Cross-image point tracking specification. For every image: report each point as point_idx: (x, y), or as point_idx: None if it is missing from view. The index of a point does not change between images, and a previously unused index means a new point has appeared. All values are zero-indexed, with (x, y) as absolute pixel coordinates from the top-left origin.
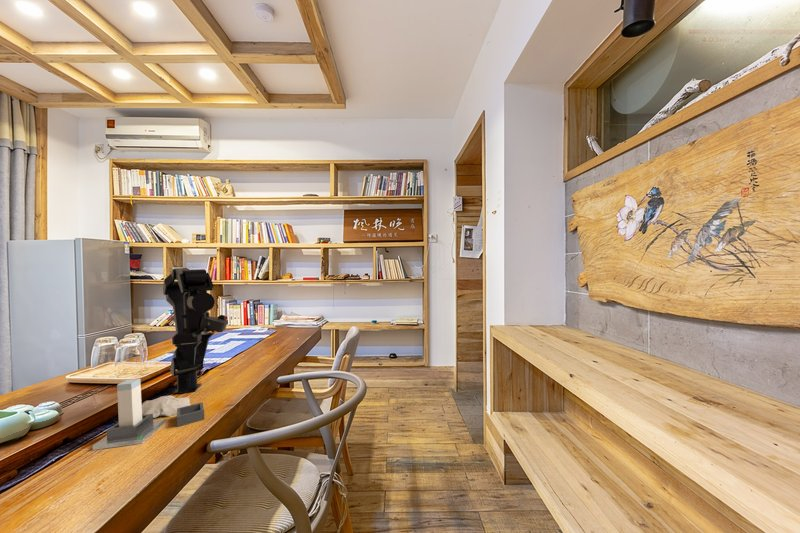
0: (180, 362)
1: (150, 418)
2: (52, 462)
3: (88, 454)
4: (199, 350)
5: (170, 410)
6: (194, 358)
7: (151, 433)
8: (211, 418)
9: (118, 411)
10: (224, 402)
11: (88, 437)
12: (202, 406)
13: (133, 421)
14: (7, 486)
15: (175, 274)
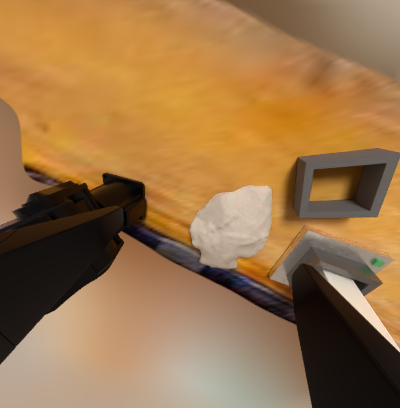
0: (102, 259)
1: (327, 259)
2: None
3: None
4: (91, 255)
5: (266, 224)
6: (347, 306)
7: (357, 244)
8: (392, 128)
9: None
10: (275, 98)
11: (269, 297)
12: (352, 160)
13: (358, 290)
14: None
15: None
